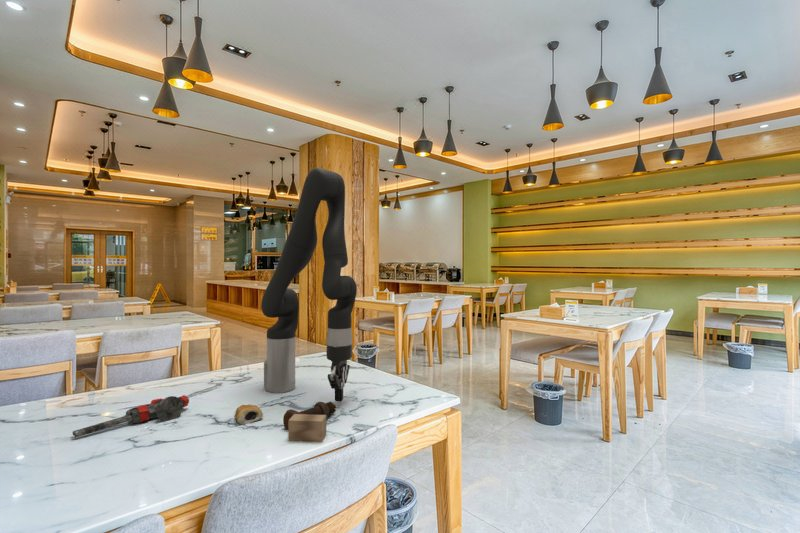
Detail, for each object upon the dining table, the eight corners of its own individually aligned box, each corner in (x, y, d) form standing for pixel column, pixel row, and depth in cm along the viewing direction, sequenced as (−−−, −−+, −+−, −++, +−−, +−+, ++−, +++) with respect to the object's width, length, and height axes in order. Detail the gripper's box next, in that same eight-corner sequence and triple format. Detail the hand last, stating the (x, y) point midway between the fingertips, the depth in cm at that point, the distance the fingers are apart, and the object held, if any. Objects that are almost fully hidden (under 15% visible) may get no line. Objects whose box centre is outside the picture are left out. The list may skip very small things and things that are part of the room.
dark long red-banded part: (176, 408, 119) (198, 413, 110) (65, 441, 99) (80, 450, 90) (174, 387, 120) (195, 389, 110) (63, 416, 100) (78, 422, 90)
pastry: (230, 415, 109) (231, 401, 109) (256, 410, 113) (256, 396, 113) (238, 426, 101) (238, 411, 101) (265, 421, 105) (265, 406, 105)
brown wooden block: (288, 441, 93) (288, 420, 93) (294, 434, 97) (294, 414, 97) (321, 442, 92) (322, 421, 92) (326, 435, 96) (326, 414, 96)
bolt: (334, 421, 110) (290, 438, 98) (323, 408, 112) (279, 423, 100) (342, 405, 108) (299, 420, 96) (331, 392, 111) (288, 406, 99)
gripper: (335, 338, 125) (335, 392, 125) (318, 346, 112) (318, 407, 112) (358, 339, 124) (357, 394, 124) (343, 347, 111) (343, 409, 111)
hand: (338, 400), depth 118 cm, fingers closed
